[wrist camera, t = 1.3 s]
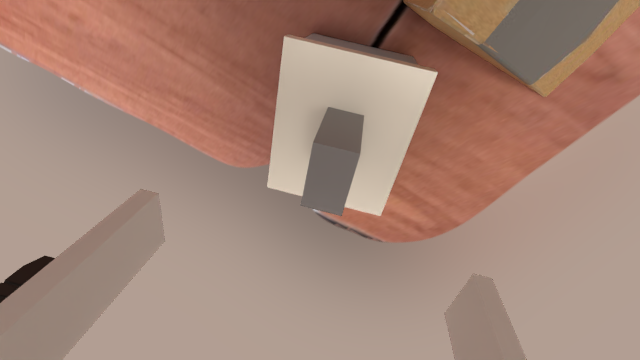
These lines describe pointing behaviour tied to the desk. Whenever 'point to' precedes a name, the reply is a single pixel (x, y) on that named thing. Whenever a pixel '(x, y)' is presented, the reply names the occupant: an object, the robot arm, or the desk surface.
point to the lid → (343, 124)
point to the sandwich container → (529, 33)
